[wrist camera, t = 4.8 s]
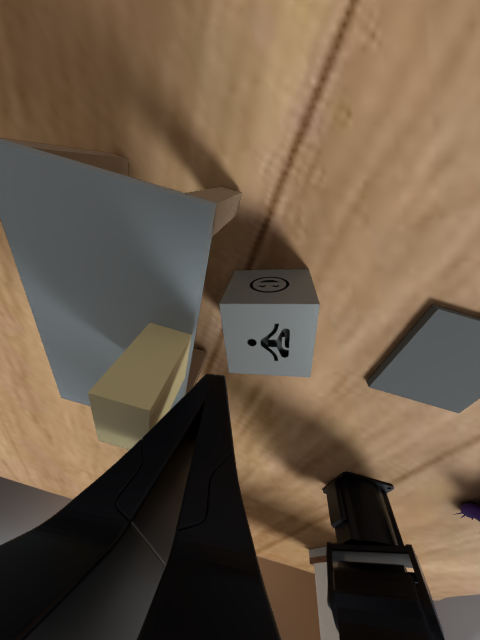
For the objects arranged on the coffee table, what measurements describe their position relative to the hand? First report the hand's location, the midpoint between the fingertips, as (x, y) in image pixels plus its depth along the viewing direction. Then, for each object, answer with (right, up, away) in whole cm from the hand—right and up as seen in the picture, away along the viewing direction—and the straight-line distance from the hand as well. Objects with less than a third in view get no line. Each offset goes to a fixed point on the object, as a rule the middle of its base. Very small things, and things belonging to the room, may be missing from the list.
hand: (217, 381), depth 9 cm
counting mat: (+17, -1, +8) cm, 19 cm away
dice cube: (+3, +4, +8) cm, 9 cm away
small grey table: (-4, +6, +8) cm, 10 cm away
